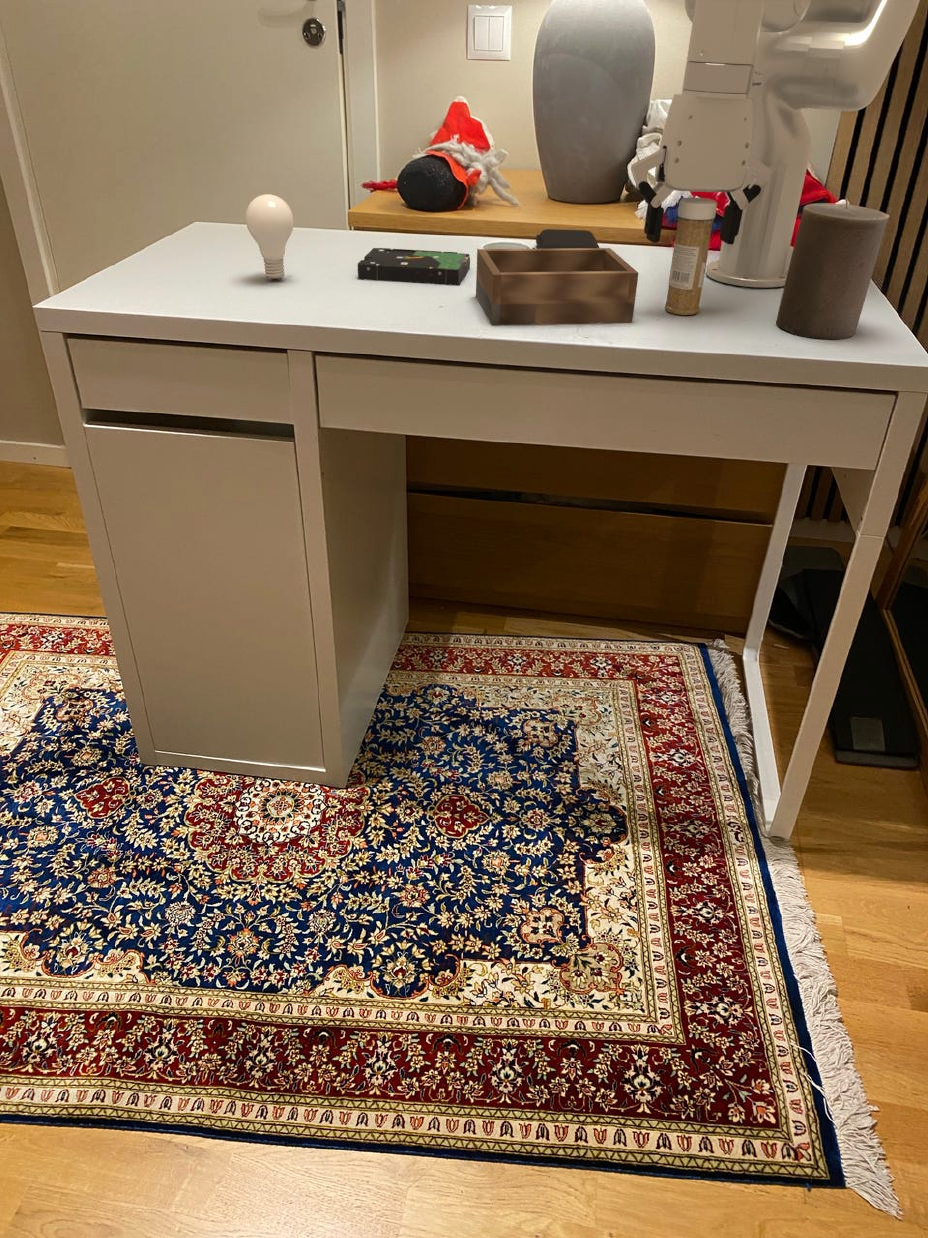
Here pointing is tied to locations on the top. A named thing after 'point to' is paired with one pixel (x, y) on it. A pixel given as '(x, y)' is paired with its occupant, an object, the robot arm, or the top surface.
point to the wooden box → (555, 286)
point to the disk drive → (414, 266)
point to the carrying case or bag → (565, 239)
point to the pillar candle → (830, 270)
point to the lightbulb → (270, 231)
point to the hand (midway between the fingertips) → (689, 241)
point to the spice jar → (690, 255)
